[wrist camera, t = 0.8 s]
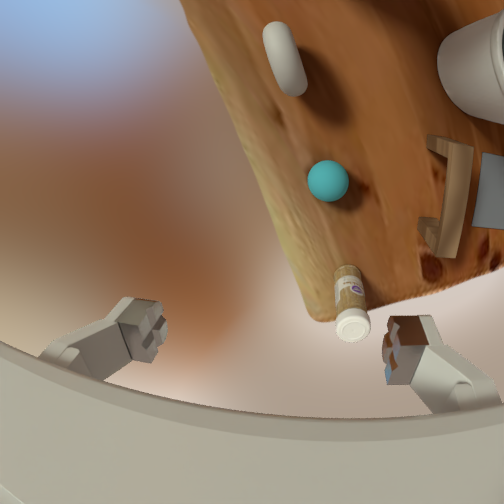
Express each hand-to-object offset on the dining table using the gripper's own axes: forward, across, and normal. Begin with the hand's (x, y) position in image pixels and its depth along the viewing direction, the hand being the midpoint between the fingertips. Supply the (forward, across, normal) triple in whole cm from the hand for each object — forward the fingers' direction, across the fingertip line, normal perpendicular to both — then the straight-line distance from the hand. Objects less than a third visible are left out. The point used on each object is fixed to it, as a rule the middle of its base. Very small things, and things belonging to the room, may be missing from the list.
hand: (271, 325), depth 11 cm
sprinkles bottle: (+36, -7, +18) cm, 41 cm away
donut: (+35, +2, -14) cm, 38 cm away
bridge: (+35, -19, +3) cm, 40 cm away
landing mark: (+35, -34, +3) cm, 49 cm away
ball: (+33, -3, +3) cm, 33 cm away
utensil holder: (+35, -26, -15) cm, 47 cm away
